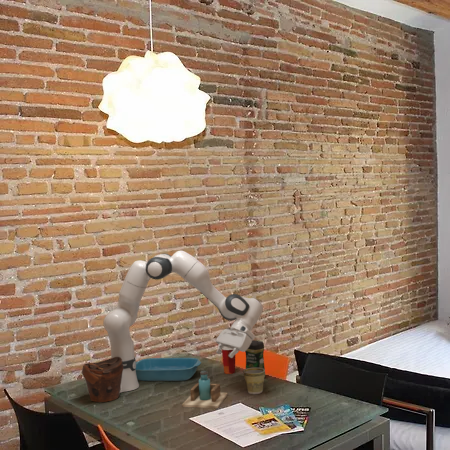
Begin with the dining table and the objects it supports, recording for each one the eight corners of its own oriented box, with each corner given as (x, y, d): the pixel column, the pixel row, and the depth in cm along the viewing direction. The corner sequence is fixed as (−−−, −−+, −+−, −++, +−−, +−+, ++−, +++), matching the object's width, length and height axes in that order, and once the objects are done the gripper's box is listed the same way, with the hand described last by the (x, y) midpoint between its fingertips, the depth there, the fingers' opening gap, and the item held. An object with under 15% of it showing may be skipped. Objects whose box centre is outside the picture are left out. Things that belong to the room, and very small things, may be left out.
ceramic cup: (257, 396, 275) (256, 374, 274) (239, 393, 281) (238, 371, 280) (273, 388, 285) (272, 367, 285) (255, 385, 291) (254, 364, 291)
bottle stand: (181, 406, 266) (181, 393, 266) (194, 393, 283) (193, 380, 283) (217, 408, 262) (216, 394, 262) (227, 394, 279) (227, 381, 279)
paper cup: (237, 370, 319) (236, 343, 318) (236, 374, 311) (235, 347, 310) (222, 370, 319) (221, 343, 319) (221, 374, 312) (219, 347, 311)
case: (74, 402, 278) (72, 363, 277) (102, 389, 296) (101, 352, 295) (105, 407, 270) (103, 367, 269) (132, 394, 287) (131, 356, 287)
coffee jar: (242, 378, 304) (241, 341, 303) (252, 374, 310) (250, 337, 310) (259, 381, 298) (257, 343, 297) (268, 376, 304) (266, 339, 304)
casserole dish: (124, 382, 306) (123, 368, 306) (138, 370, 328) (137, 357, 328) (196, 383, 300) (195, 369, 299) (205, 370, 322) (205, 357, 321)
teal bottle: (198, 400, 271) (196, 373, 270) (201, 396, 276) (200, 369, 275) (208, 400, 270) (207, 373, 269) (212, 396, 274) (210, 370, 274)
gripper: (223, 323, 290) (206, 347, 285) (249, 329, 274) (232, 355, 268) (231, 330, 293) (215, 355, 288) (257, 337, 276) (241, 363, 271)
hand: (223, 355), depth 278 cm, fingers open, 8 cm apart
